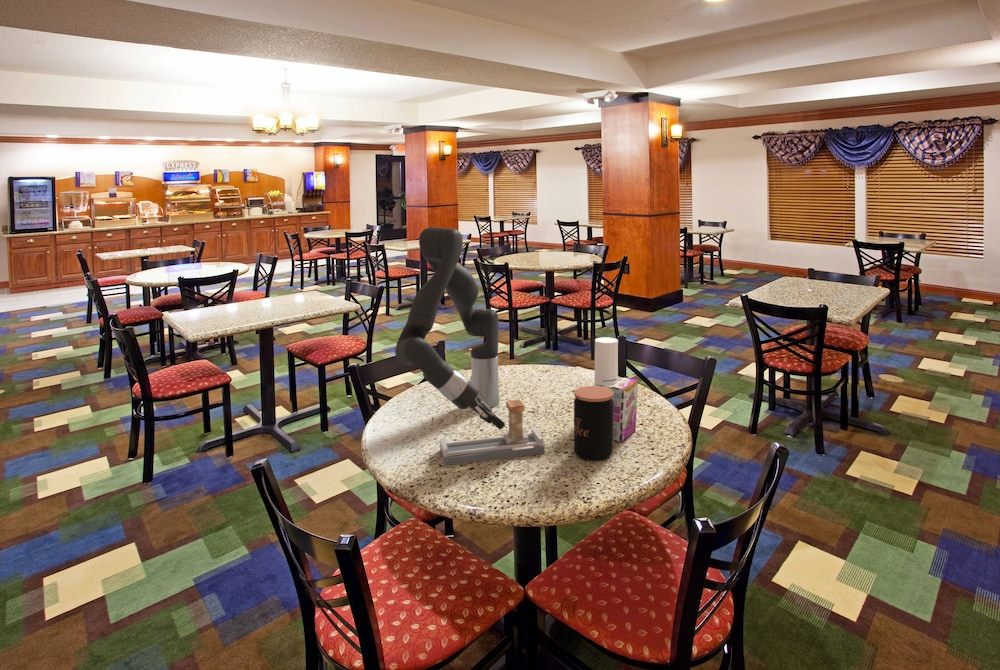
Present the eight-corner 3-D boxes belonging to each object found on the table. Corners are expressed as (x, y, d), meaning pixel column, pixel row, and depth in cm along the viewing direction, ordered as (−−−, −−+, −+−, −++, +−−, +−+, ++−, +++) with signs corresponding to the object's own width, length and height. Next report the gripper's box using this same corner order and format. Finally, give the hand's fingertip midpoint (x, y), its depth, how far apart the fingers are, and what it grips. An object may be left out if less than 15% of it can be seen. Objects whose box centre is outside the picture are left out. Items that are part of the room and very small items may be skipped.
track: (444, 465, 163) (444, 451, 162) (440, 450, 172) (439, 437, 171) (544, 453, 168) (544, 440, 168) (534, 439, 178) (534, 426, 177)
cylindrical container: (616, 419, 192) (617, 343, 186) (593, 418, 193) (594, 342, 188) (616, 411, 199) (618, 337, 193) (594, 410, 200) (595, 337, 194)
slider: (507, 446, 168) (506, 407, 166) (503, 439, 173) (502, 401, 170) (528, 443, 170) (527, 405, 167) (524, 437, 174) (523, 399, 172)
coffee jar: (570, 446, 172) (570, 386, 168) (607, 444, 173) (608, 385, 169) (578, 463, 162) (578, 399, 158) (617, 460, 163) (618, 397, 159)
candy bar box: (622, 443, 174) (623, 389, 170) (606, 440, 176) (607, 386, 173) (637, 430, 183) (638, 379, 179) (621, 427, 185) (622, 376, 182)
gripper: (471, 386, 157) (517, 425, 163) (462, 371, 170) (505, 408, 175) (451, 407, 158) (498, 445, 163) (444, 391, 170) (488, 427, 176)
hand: (502, 426), depth 169 cm, fingers closed
